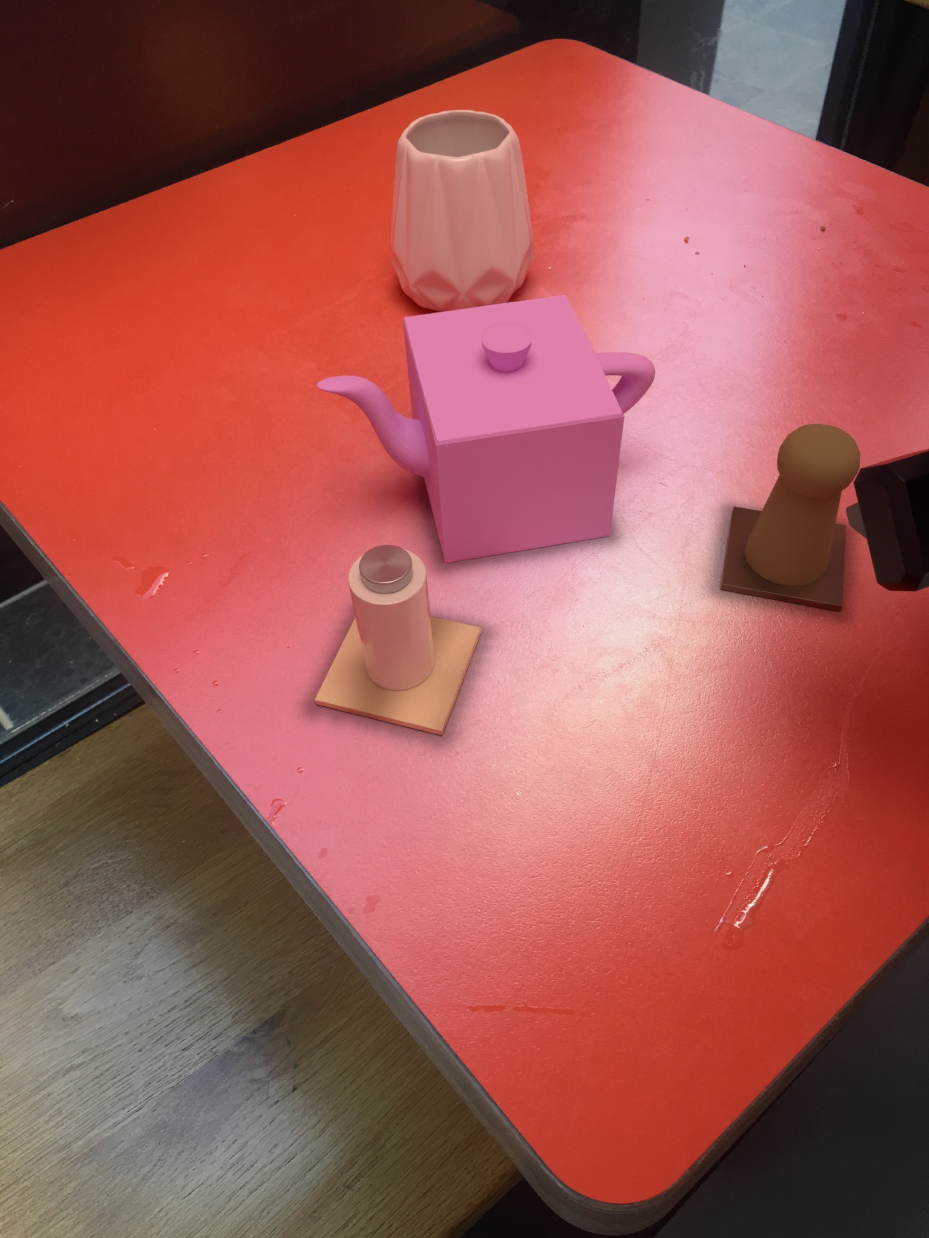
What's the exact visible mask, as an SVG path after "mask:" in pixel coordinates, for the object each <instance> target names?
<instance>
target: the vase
mask: <svg viewBox="0 0 929 1238" xmlns="http://www.w3.org/2000/svg"><path fill="white" fill-rule="evenodd" d="M521 147H522V146H521V142H520V139H519V136H518V133H516V131H515V129H514V128H513V127H512V125H511V124H510V123H508V122H507V121H506V120H505V119H504V118H502V117H500V116H498V115H496V114H493V113H489V112H486V111H475V110H473V109H452V110H451V109H450V110H443V111H440V112H437V113H436V112H435V113H430V114H426V115H423V116H420V117H418V118H416V119H414V120H413V121H411V122H410V124H408V126H407V127H406V128H405V129H404V130H403V131H402V133H401V135H400V136H399V139H398V141H397V143H396V151H395V162H394V174H393V175H394V177H393V188H392V189H393V190H392V205H391V223H390V263H391V267H392V268H393V271H394V272H395V275H396V276H397V278H398V281H399V284H400V288H401V290H402V291H403V293H404V294H405V295H406V296H407V297H408V298H410V300H412V301H413V302H414V303H415V304H416V305H417V306H419V307H421V308H423V309H428V310H432V311H436V312H445V311H452V310H459V309H466V308H473V307H480V306H487V305H494V304H501V303H508V302H509V301H510V299H511V298H512V295H513V294H514V293H515V292H516V291H518V289H520V288H521V287H522V286H523V284H524V281H525V278H526V274H527V272H528V271H529V269H530V267H531V265H532V263H533V261H534V258H535V251H534V250H535V247H534V243H535V242H534V233H533V225H532V215H531V208H530V201H529V193H528V187H527V180H526V174H525V173H526V172H525V166H524V160H523V159H524V158H523V153H522V148H521Z"/></svg>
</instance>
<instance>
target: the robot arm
mask: <svg viewBox="0 0 929 1238" xmlns="http://www.w3.org/2000/svg"><path fill="white" fill-rule="evenodd" d="M852 482H853V486H854V492H855V495H856V500H857V502H854V503H853V504H850V505H849V506H847V507H846V508H845V512H846V516H847V521H848V525H849V526H850V527H851V528H852V529H853V530H855V532H857V533H858V534H859V535H860V536H862V537H863V538H865V539H866V542H867V546H868V551H869V555H870V559H871V563H872V567H873V572H874V576H875V580H876V584H878V585H879V586H881V587H882V588H884V589H885V590H887V591H888V592H919V591H922V590H924V589H928V588H929V448H926V449H922V450H918V451H914V452H910V453H906V454H902V455H899V456H896V457H893V458H890V459H889V458H888V459H886V460H883V461H880V462H877V463H876V462H875V463H873V464H870V465H867V466H863V467H859V470H858V472H857V474H856V476H855V478H854V479H853V481H852Z"/></svg>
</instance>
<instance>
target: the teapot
mask: <svg viewBox="0 0 929 1238" xmlns="http://www.w3.org/2000/svg"><path fill="white" fill-rule="evenodd" d="M402 324H403V337H404V345H405V355H406V366H407V376H408V386H409V387H408V388H409V396H410V405H411V417H408V416H407V417H406V416H404V415H402V414H400V413H399V412H397V410H396V409H395V408H394V407H393V406H392V403H391V402H390V400H389V398H388V397H387V395H386V394H385V393H384V391H383V390H382V389H381V387H380V386H378V385H377V384H376V383H375V382H373V381H371V380H370V379H367V378H365V377H362V376H358V375H337V376H336V375H335V376H331V377H327V378H324V379H321V380H320V381H318V382H317V383H316V386H317V388H318V389H319V390H321V391H323V392H326V393H330V394H334V395H337V396H340V397H344V398H346V399H347V400H349V401H350V402H352V403H354V404H355V405H356V406H358V408H359V409H360V410H361V411H362V412H363V413H364V415H365V417H366V418H367V419H368V421H369V423H370V426H372V428H373V430H374V432H375V435H376V437H377V438H378V440H379V442H380V444H381V445H382V447H383V449H384V450H385V452H386V453H387V455H388V456H389V457H390V458H391V460H392V461H393V462H395V464H397V465H398V466H399V467H401V468H402V469H404V470H406V471H408V472H410V473H411V474H414V475H416V476H420V477H423V479H424V482H425V487H426V491H427V494H428V499H429V504H430V507H431V511H432V517H433V519H434V524H435V528H436V532H437V536H438V539H439V543H440V548H441V552H442V556H443V560H444V563H445V564H448V563H454V562H460V561H466V560H472V559H478V558H484V557H490V556H495V555H502V554H503V555H504V554H508V553H515V552H520V551H522V552H523V551H527V550H533V549H540V548H545V547H551V546H556V545H564V544H570V543H575V542H581V541H588V540H593V539H600V538H606V537H610V536H611V528H612V521H613V514H614V513H613V512H614V504H615V496H616V488H617V479H618V472H619V463H620V456H621V447H622V439H623V431H624V424H625V414H626V413H627V412H629V411H630V410H631V409H632V408H634V406H635V405H636V404H637V403H638V402H640V400H641V399H642V398H643V397H644V396H645V394H647V392H648V391H649V389H650V388H651V386H652V384H653V383H654V381H655V377H656V368H655V365H654V363H653V362H652V361H651V360H650V359H649V358H648V357H646V356H644V355H642V354H640V353H639V354H638V353H633V352H624V351H621V352H620V351H618V352H617V351H614V352H613V351H612V352H609V351H608V352H607V351H606V352H596V353H595V351H594V348H593V347H592V344H591V343H590V341H589V338H588V336H587V334H586V332H585V330H584V328H583V326H582V324H581V322H580V320H579V318H578V316H577V314H576V312H575V310H574V308H573V306H572V304H571V302H570V300H569V298H568V296H567V294H562V295H554V296H548V297H542V298H533V299H532V298H531V299H526V300H519V301H508V302H506V303H501V304H494V305H487V306H480V307H473V308H466V309H459V310H452V311H445V312H439V311H437V312H432V313H425V314H418V315H411V316H404V317H403V318H402ZM607 376H619V377H620V379H619V380H618V382H617V383H616V384H615V386H614V387H613V388H612V386H611V385H610V383H609V381H608V378H607Z"/></svg>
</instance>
